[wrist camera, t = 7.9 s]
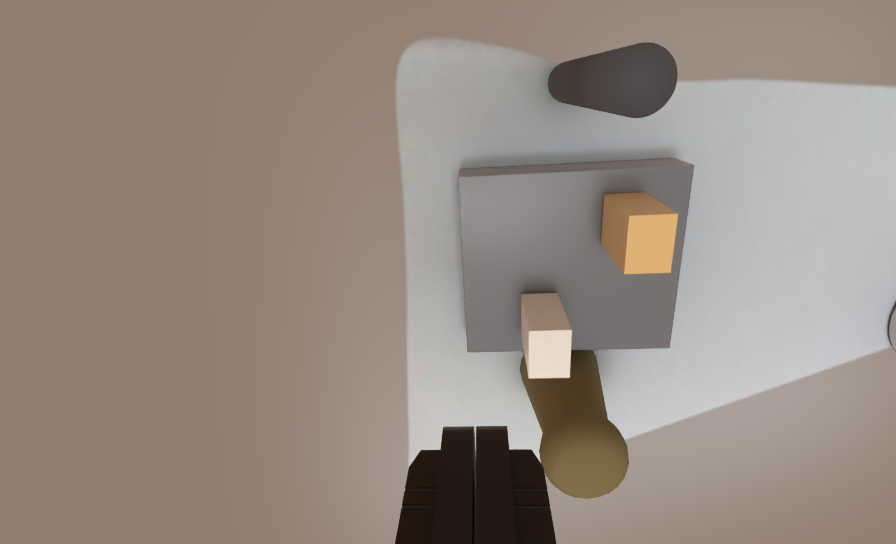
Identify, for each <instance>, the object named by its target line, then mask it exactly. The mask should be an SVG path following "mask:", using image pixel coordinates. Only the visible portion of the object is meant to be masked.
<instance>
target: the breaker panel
mask: <svg viewBox="0 0 896 544" xmlns="http://www.w3.org/2000/svg"><path fill="white" fill-rule="evenodd" d="M693 170H694V165H692V164H689V163H686V162H684V161H681V160H678V159H676V158H664V159H644V160H625V161H606V162H587V163H567V164H548V165H529V166H510V167H490V168H471V169H460V171H459V176H458V183H459V202H460V221H461V240H462V259H463V278H464V297H465V316H466V335H467V352H504V351H524V349H523V343H522V337H521V294H539V293H558V295H559V298H560V300H561V303H562V306H563V308H564V311H565V313H566V316H567V319H568V321H569V324H570V326H571V329H572V339H571V350H598V349H645V348H669V347H670V340H671V333H672V325H673V318H674V310H675V303H676V296H677V288H678V281H679V273H680V266H681V259H682V251H683V244H684V236H685V229H686V222H687V214H688V207H689V199H690V192H691V185H692V177H693ZM639 192H645V193H647V194H649V195H650V196H652V197H653V198H655V199H656V200H658V201H659V202H661V203H662V204H664V205H665V206H667V207H669V208H670V209H672V210H673V211H675V212H676V213H678V220H677V227H676V235H675V243H674V251H673V259H672V267H671V273H646V274H624V273H623V272H622V271H621V270H620V268H619V267H618V266H617V264H616V263H615V262H614V260H613V259H612V258H611V257H610V255H609V254H608V253H607V251H606V250H605V249H604V247H603V246H602V245H601V236H602V221H603V205H604V194H617V193H639Z"/></svg>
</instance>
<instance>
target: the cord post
mask: <svg viewBox="0 0 896 544" xmlns="http://www.w3.org/2000/svg"><path fill="white" fill-rule="evenodd" d="M676 83H677V67H676V63H675V60H674V58H673V57H672V55H671V54H670V53H669V51H667V50H666V49H665V48H664V47H662V46H660V45H658V44H654V43H639V44H635V45H631V46H627V47H623V48H619V49H615V50H611V51H607V52H603V53H599V54H595V55H591V56H587V57H583V58H579V59H575V60H571V61H567V62H563V63H561V64H559V65H558V66H556V67H555V68H554V70H553V71H552V72H551V74H550V77H549V81H548V87H549V91H550V93H551V95H552V96H553V98H555V99H556V100H557V101H559V102H562V103H567V104H571V105H576V106H580V107H585V108H590V109H594V110H599V111H603V112H608V113H612V114H617V115H621V116H626V117H631V118H641V117H646V116H649V115H651V114H653V113H655V112H657V111H658V110H660V109H661V108H662V107H663V106H664V105H665V104H666V103H667V102H668V100H669V99H670V98H671V96H672V94H673V92H674V90H675V87H676Z"/></svg>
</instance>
